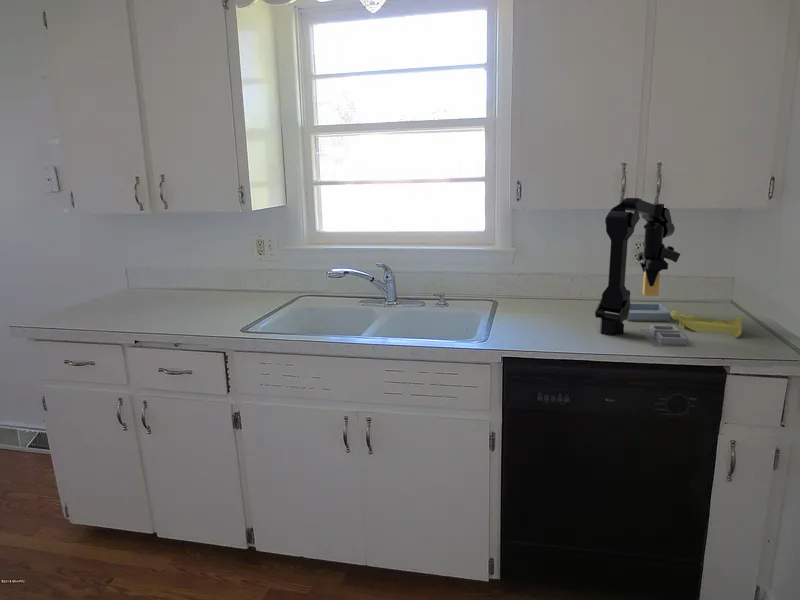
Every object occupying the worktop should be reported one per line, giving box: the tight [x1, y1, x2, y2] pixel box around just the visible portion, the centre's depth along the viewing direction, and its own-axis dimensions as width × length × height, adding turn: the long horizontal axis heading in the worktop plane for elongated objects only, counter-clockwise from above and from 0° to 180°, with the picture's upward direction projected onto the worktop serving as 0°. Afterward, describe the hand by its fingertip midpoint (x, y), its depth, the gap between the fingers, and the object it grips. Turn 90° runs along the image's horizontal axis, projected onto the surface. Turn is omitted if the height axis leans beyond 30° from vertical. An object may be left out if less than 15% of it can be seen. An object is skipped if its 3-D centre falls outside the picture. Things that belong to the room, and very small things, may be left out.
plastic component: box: [669, 309, 743, 339], centre depth 183 cm, size 20×7×10 cm
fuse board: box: [639, 324, 698, 349], centre depth 174 cm, size 12×18×4 cm, turn 169°
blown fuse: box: [642, 272, 661, 297], centre depth 196 cm, size 3×4×9 cm, turn 79°
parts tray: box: [626, 302, 672, 323], centre depth 203 cm, size 14×14×3 cm
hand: (650, 285), depth 197 cm, fingers closed on blown fuse, 3 cm apart
